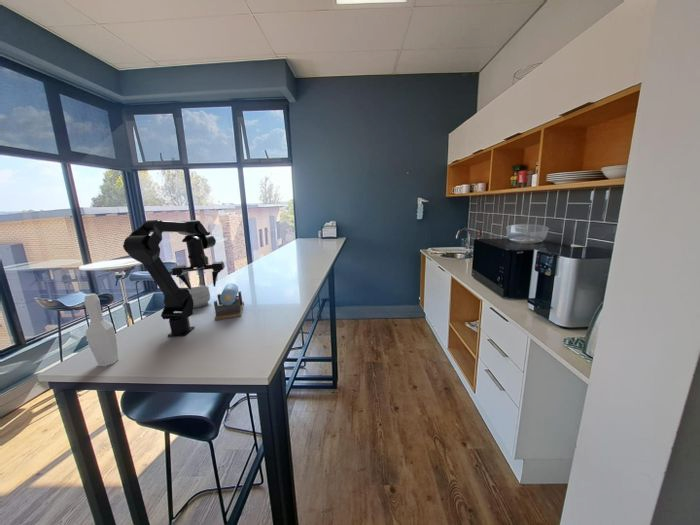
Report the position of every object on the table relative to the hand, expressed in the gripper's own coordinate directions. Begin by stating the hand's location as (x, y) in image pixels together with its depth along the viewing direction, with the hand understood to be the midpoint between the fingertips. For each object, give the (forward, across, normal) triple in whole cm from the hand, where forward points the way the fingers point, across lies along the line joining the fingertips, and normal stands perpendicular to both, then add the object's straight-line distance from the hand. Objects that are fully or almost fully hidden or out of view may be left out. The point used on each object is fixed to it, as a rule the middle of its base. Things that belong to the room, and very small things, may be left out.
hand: (202, 287), depth 115 cm
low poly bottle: (+12, +22, +29) cm, 39 cm away
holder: (+12, -9, 0) cm, 15 cm away
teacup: (+12, +6, -16) cm, 21 cm away
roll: (+4, -10, 0) cm, 11 cm away
